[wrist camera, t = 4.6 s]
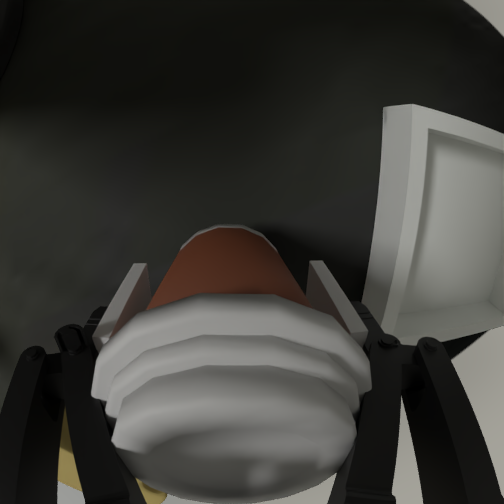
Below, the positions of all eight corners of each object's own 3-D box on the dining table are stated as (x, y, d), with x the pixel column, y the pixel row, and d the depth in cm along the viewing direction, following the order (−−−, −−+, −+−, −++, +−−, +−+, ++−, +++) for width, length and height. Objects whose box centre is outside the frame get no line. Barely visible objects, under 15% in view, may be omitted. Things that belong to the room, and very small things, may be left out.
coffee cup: (334, 258, 18) (443, 416, 7) (244, 356, 20) (261, 520, 9) (208, 165, 15) (158, 266, 4) (126, 290, 18) (52, 458, 6)
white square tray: (383, 107, 17) (412, 104, 13) (520, 148, 18) (547, 154, 14) (356, 326, 23) (372, 354, 19) (488, 306, 24) (507, 324, 20)
